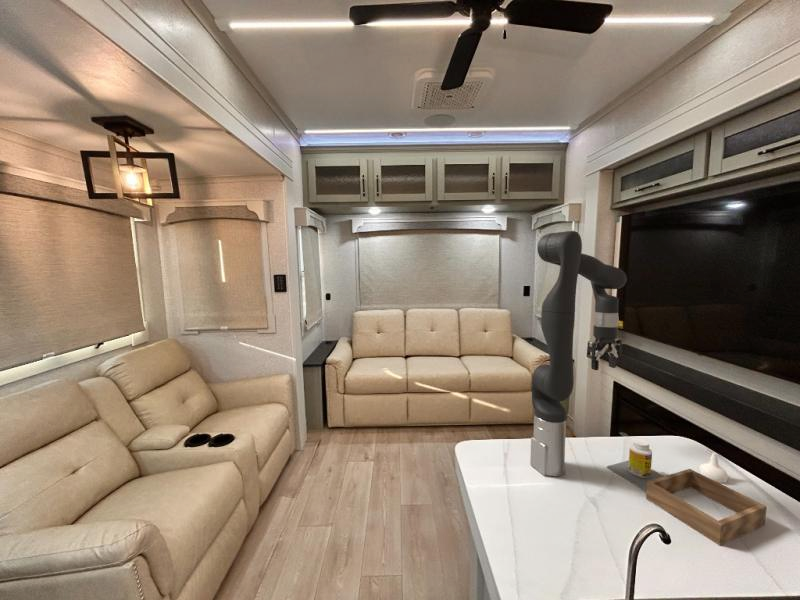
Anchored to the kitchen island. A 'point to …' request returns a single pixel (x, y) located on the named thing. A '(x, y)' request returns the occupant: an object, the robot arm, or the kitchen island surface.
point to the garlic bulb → (713, 470)
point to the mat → (625, 473)
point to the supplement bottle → (640, 458)
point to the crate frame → (718, 531)
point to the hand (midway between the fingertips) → (603, 368)
